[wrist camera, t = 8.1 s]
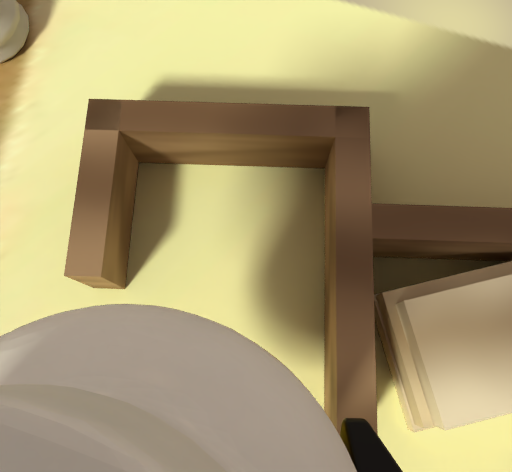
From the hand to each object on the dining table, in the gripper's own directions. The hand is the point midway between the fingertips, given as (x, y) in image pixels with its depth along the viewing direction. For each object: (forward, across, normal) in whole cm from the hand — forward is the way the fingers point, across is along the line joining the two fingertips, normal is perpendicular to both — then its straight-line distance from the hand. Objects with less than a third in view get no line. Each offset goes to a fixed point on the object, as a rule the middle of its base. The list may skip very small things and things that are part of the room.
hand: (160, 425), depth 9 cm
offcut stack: (+11, -11, +8) cm, 17 cm away
